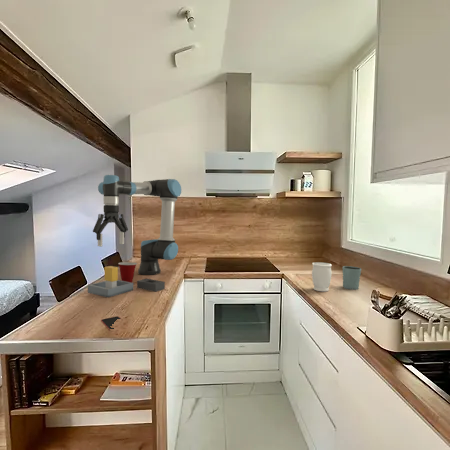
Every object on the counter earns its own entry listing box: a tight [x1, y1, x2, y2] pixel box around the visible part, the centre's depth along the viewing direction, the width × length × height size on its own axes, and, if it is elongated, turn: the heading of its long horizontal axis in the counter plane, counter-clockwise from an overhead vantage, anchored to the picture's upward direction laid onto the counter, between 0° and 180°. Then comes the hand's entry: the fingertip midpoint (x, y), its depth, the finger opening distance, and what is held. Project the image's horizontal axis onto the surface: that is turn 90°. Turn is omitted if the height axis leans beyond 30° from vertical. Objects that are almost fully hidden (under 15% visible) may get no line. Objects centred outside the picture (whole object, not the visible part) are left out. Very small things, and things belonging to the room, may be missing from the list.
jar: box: [311, 261, 333, 292], centre depth 164 cm, size 11×10×15 cm
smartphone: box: [100, 316, 122, 330], centre depth 110 cm, size 7×1×14 cm
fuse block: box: [136, 278, 166, 292], centre depth 160 cm, size 7×14×4 cm, turn 60°
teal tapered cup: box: [341, 265, 362, 291], centre depth 170 cm, size 10×10×12 cm
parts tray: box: [87, 279, 134, 298], centre depth 153 cm, size 16×16×4 cm
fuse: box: [104, 265, 119, 289], centre depth 153 cm, size 4×6×12 cm, turn 59°
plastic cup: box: [117, 261, 138, 283], centre depth 172 cm, size 11×11×12 cm
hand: (111, 245), depth 152 cm, fingers open, 13 cm apart
